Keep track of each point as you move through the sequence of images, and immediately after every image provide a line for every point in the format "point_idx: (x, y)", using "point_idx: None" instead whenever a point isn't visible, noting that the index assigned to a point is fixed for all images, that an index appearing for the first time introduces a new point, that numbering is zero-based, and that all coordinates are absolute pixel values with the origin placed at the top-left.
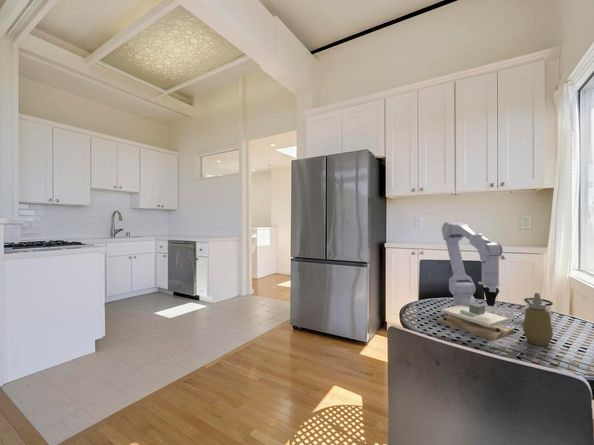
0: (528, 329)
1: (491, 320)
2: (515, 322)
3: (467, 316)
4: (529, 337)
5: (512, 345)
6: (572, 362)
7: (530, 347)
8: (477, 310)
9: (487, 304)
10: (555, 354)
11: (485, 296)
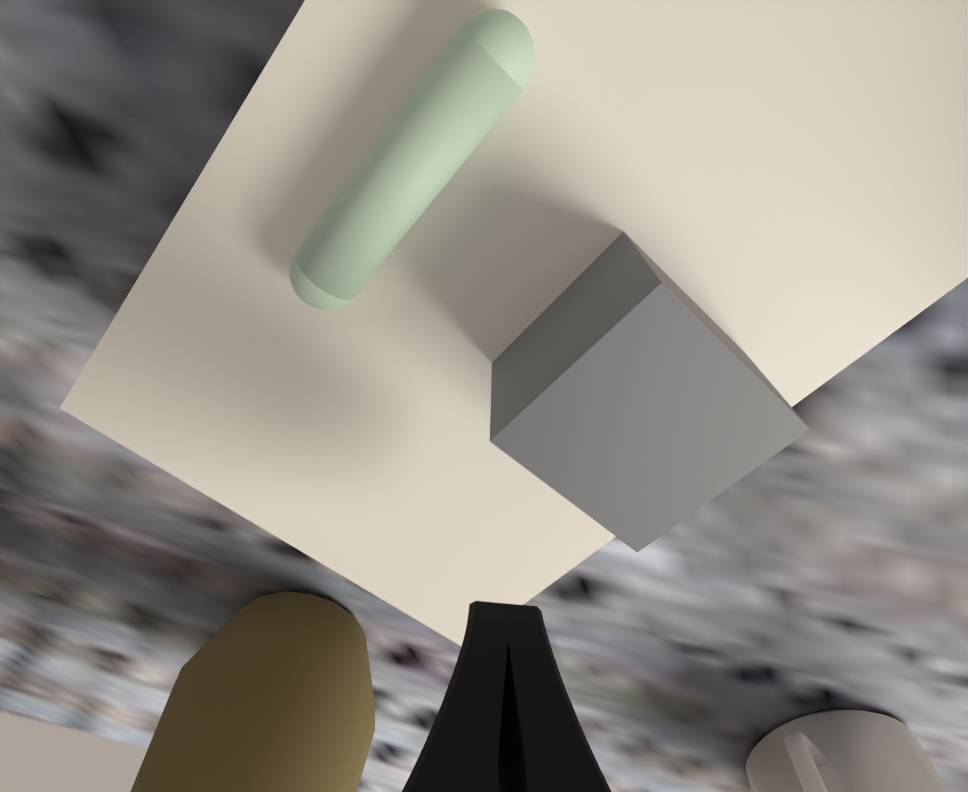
0: (186, 694)
1: (264, 469)
2: (783, 630)
3: (289, 143)
4: (225, 630)
5: (124, 472)
6: (52, 686)
7: (168, 571)
8: (505, 381)
9: (470, 619)
10: (130, 655)
11: (483, 784)
